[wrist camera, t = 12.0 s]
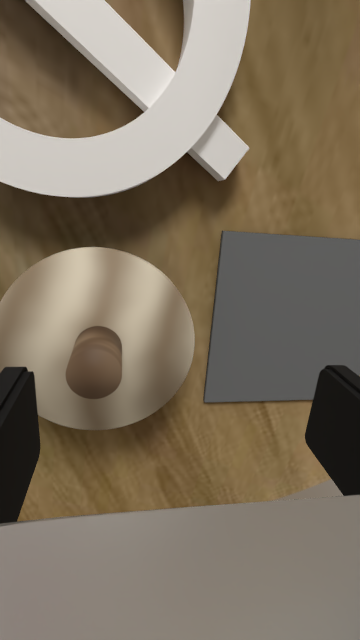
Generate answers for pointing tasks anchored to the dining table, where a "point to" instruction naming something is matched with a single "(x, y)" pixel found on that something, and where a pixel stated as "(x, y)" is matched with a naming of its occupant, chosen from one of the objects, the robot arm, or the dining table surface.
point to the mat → (282, 315)
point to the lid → (97, 336)
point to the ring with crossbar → (137, 102)
